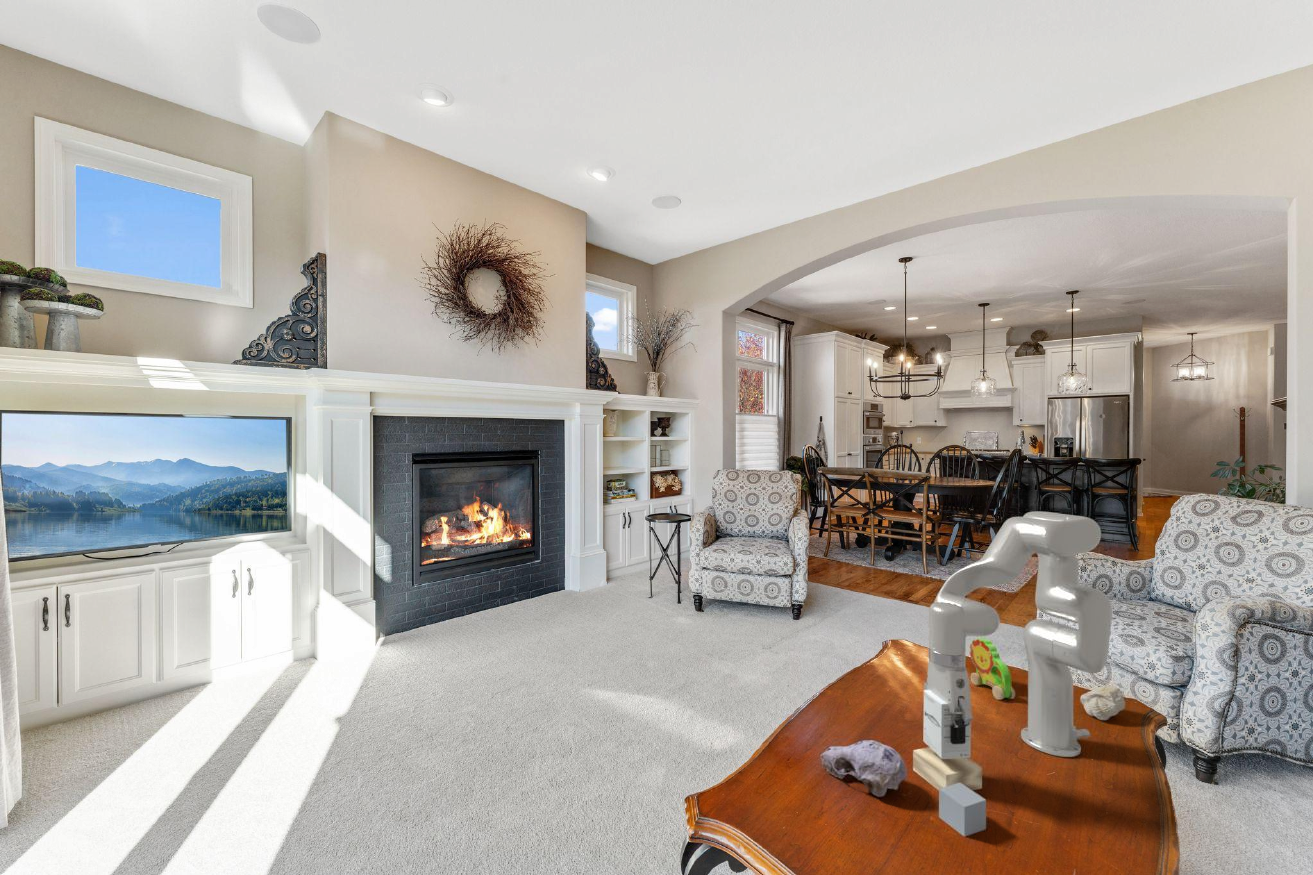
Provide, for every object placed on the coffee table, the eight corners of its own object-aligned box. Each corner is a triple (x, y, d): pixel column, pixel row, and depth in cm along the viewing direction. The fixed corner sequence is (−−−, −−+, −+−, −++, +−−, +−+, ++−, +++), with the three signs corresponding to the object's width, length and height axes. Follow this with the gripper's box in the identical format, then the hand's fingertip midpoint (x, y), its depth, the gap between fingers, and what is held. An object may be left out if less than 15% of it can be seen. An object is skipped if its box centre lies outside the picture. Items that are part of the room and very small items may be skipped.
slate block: (960, 810, 116) (960, 782, 116) (986, 829, 111) (986, 799, 111) (939, 817, 114) (939, 788, 114) (964, 837, 109) (964, 806, 109)
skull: (814, 776, 130) (812, 732, 132) (844, 761, 137) (841, 719, 139) (890, 810, 115) (886, 760, 116) (919, 792, 122) (915, 744, 123)
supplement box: (922, 741, 130) (922, 688, 130) (951, 740, 131) (951, 687, 131) (940, 760, 123) (941, 703, 123) (972, 758, 124) (972, 702, 124)
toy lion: (1016, 701, 164) (1016, 651, 164) (1000, 702, 164) (1000, 651, 164) (980, 678, 180) (980, 632, 180) (964, 679, 180) (964, 633, 180)
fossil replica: (1081, 719, 154) (1127, 732, 149) (1085, 692, 153) (1131, 704, 148) (1076, 699, 164) (1119, 710, 159) (1079, 672, 164) (1122, 683, 158)
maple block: (946, 764, 133) (947, 743, 133) (981, 789, 124) (981, 767, 124) (913, 771, 130) (913, 750, 130) (946, 797, 121) (946, 775, 121)
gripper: (988, 672, 119) (988, 754, 119) (939, 643, 136) (938, 714, 136) (956, 674, 118) (955, 756, 118) (910, 644, 135) (910, 715, 135)
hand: (946, 733), depth 127 cm, fingers closed on supplement box, 7 cm apart
